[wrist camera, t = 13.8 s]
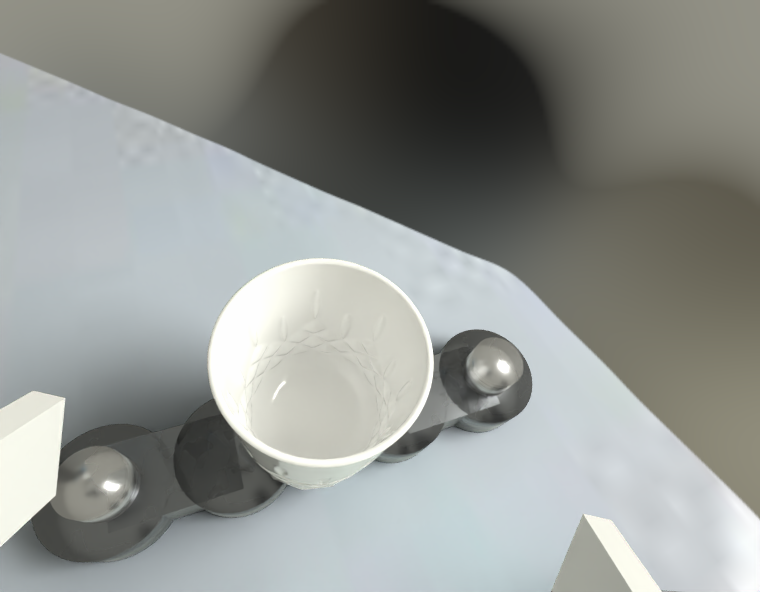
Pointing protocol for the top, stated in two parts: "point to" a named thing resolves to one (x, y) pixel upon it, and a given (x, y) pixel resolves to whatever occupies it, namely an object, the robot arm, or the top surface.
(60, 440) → the robot arm
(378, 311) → the white cup
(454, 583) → the top surface
